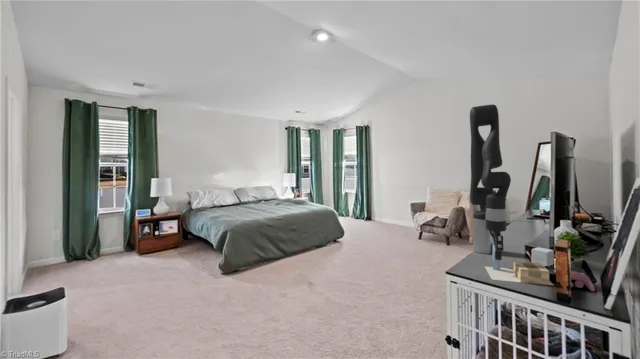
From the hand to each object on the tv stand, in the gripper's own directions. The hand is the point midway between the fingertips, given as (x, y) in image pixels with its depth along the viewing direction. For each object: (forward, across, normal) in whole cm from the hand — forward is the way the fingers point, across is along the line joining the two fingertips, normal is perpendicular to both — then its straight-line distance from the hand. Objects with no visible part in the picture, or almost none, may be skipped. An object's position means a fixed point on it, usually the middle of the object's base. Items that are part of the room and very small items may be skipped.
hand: (495, 256), depth 123 cm
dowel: (+6, 0, 0) cm, 6 cm away
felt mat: (+6, +5, +6) cm, 10 cm away
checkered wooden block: (+6, +8, +10) cm, 14 cm away
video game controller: (+6, +12, +22) cm, 26 cm away
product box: (+6, -11, +20) cm, 24 cm away
